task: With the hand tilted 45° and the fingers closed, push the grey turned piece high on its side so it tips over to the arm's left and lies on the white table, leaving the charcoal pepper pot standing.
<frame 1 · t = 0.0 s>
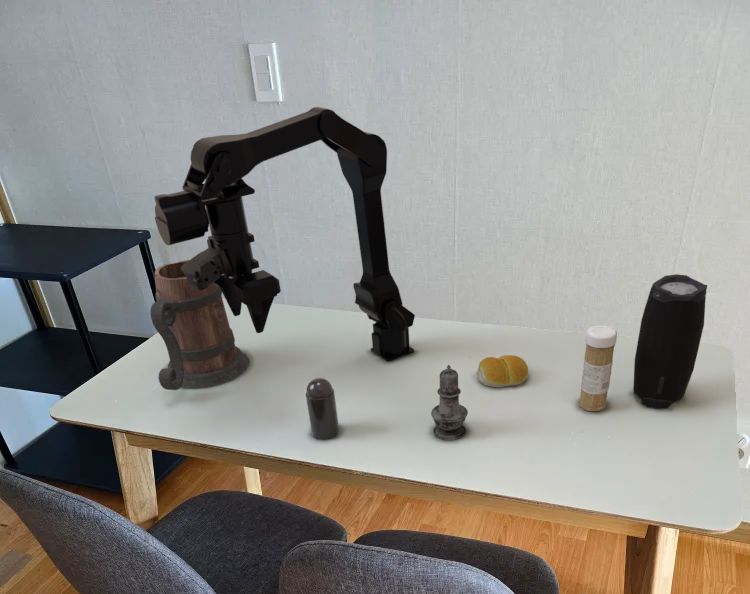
hand: (248, 323, 118), 15 cm above the table, tool pointing down, fingers open, 9 cm apart
bread roll: (501, 379, 126), on the table
tankard: (200, 376, 136), on the table
portable speaker: (657, 398, 117), on the table
sprinkles bottle: (592, 406, 117), on the table
pepper pot: (325, 432, 116), on the table
grey turned piece: (449, 432, 114), on the table
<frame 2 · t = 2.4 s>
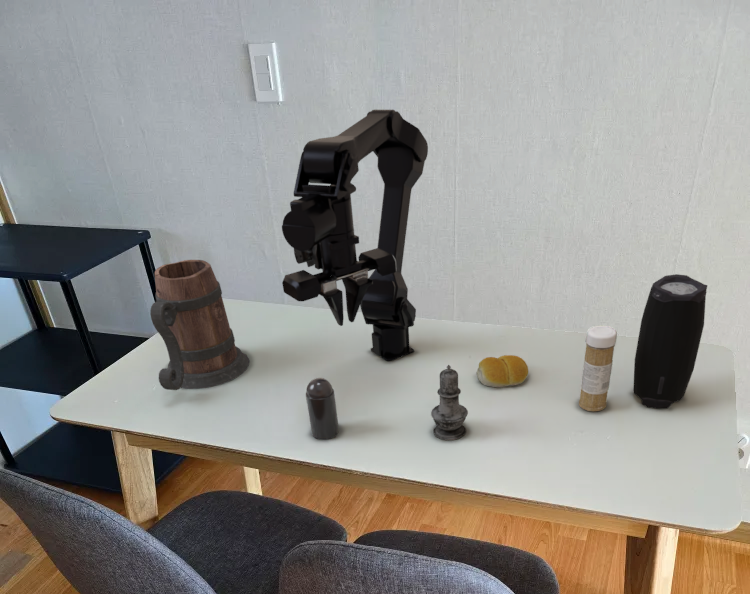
hand: (345, 323, 119), 13 cm above the table, tool pointing down, fingers closed
nothing on the table moved.
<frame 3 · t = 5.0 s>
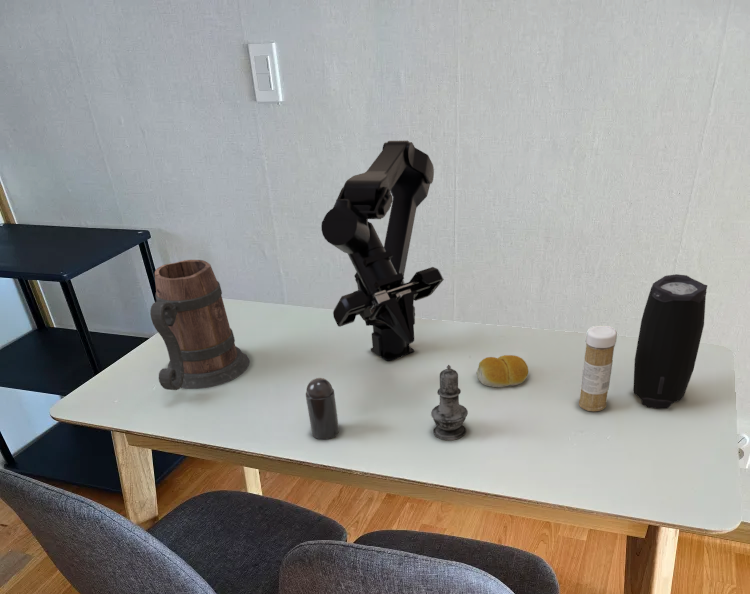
hand: (411, 342, 113), 12 cm above the table, tool tilted 45°, fingers closed
nothing on the table moved.
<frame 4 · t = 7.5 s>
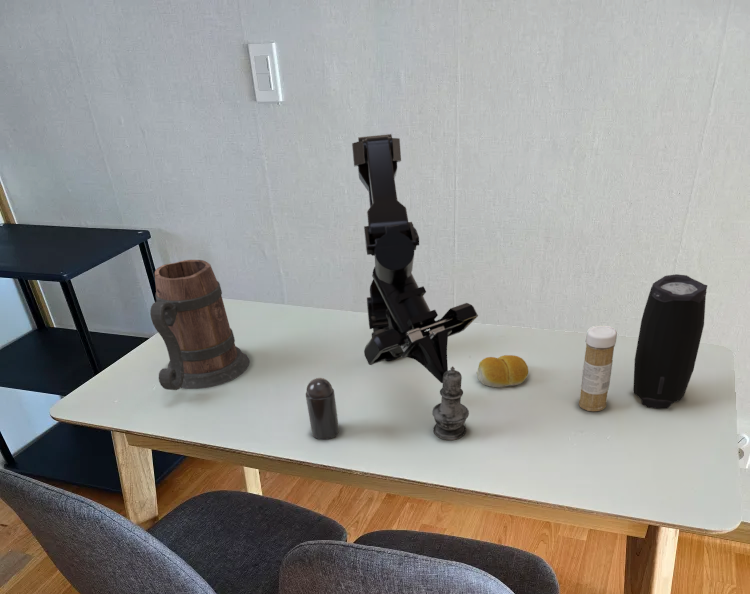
hand: (445, 381, 109), 9 cm above the table, tool tilted 45°, fingers closed, pressing on grey turned piece
grey turned piece: (449, 431, 114), on the table, touching gripper
everything else where it was.
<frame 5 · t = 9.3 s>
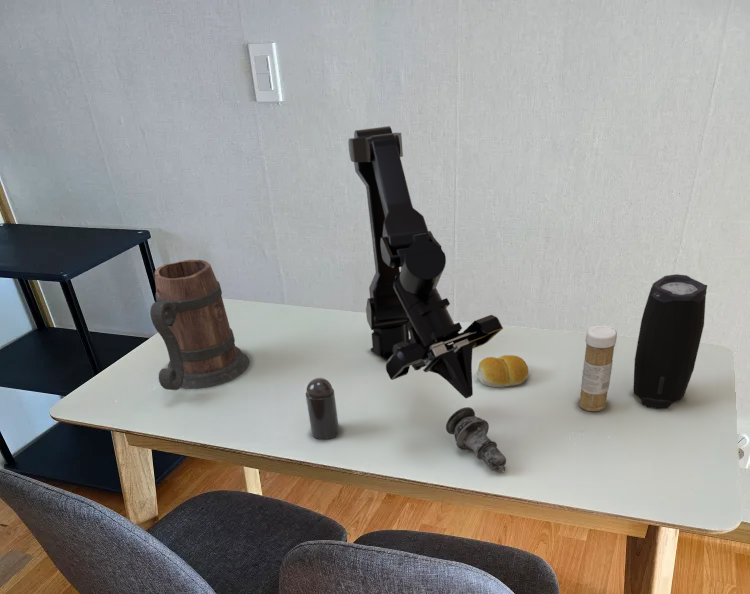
hand: (469, 396, 105), 9 cm above the table, tool tilted 45°, fingers closed
grey turned piece: (459, 420, 109), point 4 cm above the table
everything else where it was.
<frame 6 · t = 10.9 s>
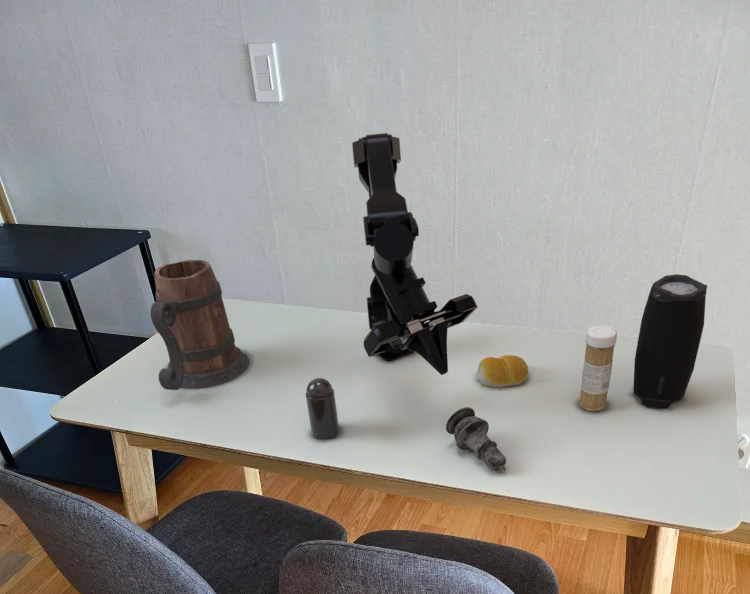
hand: (444, 373, 108), 10 cm above the table, tool tilted 45°, fingers closed
nothing on the table moved.
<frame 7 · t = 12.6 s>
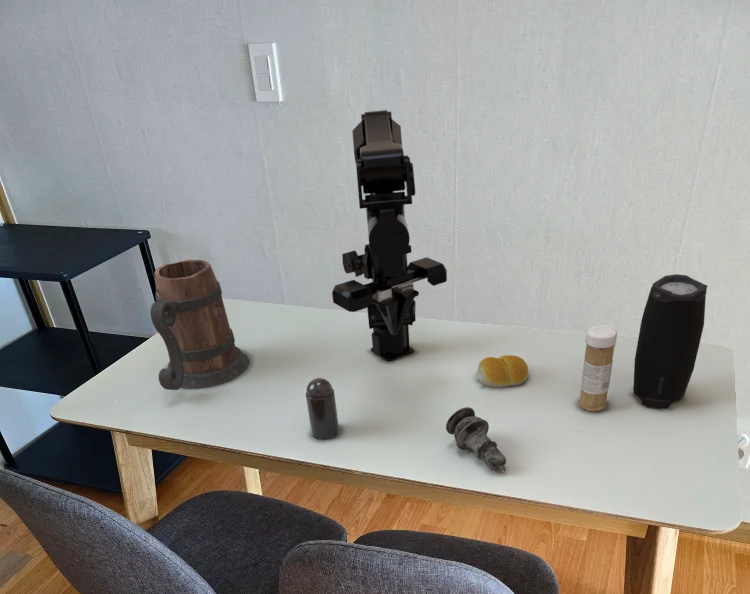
hand: (394, 333, 116), 12 cm above the table, tool pointing down, fingers closed
nothing on the table moved.
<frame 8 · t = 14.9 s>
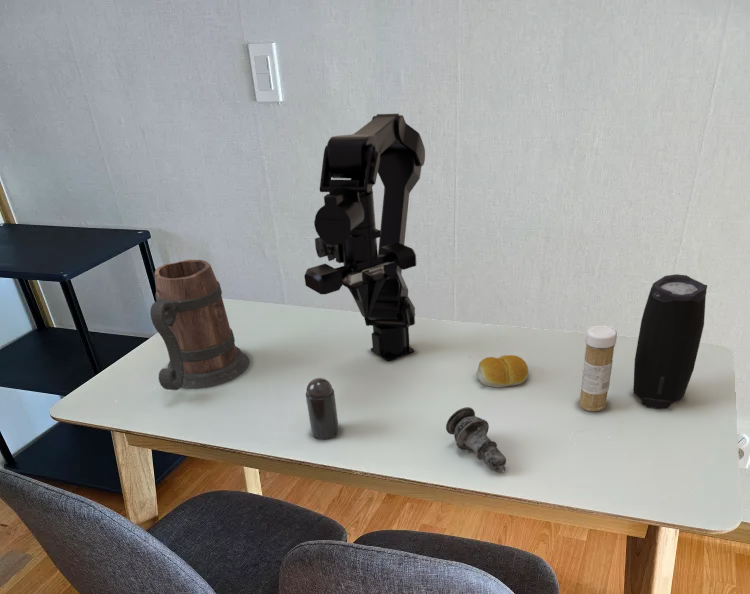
hand: (365, 316, 120), 13 cm above the table, tool pointing down, fingers closed
nothing on the table moved.
at the end: grey turned piece tilted 103°; grey turned piece inside the target area (1.5 cm from its centre), point 3.7 cm above the table; pepper pot tilted 0° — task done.
